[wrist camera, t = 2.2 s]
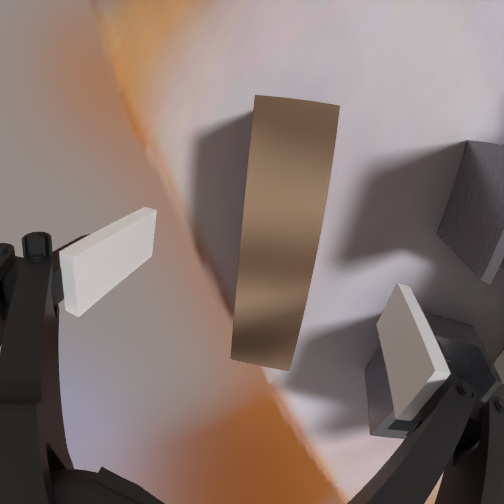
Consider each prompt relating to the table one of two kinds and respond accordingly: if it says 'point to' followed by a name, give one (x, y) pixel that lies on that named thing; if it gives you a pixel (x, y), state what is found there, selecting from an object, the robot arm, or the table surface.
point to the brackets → (482, 265)
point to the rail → (281, 225)
